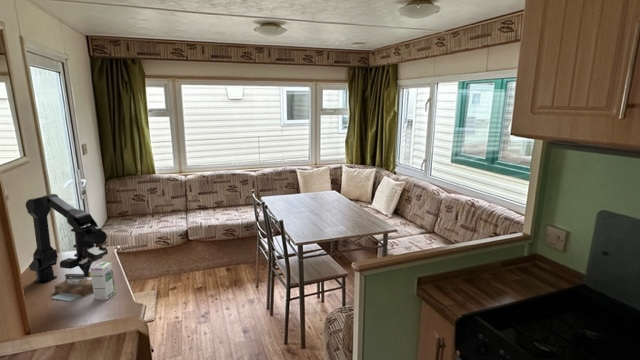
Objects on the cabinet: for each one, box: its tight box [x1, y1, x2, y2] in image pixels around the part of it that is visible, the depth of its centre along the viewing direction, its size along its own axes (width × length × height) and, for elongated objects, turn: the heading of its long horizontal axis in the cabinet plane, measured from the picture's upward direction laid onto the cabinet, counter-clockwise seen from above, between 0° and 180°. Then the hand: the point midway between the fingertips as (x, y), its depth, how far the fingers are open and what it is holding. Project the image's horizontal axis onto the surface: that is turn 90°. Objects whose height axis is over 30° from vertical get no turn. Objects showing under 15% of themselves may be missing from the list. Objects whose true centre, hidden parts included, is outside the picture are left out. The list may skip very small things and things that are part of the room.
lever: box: [64, 270, 91, 282], centre depth 154 cm, size 12×2×5 cm, turn 89°
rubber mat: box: [51, 292, 82, 303], centre depth 147 cm, size 10×5×1 cm, turn 77°
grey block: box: [67, 277, 88, 287], centre depth 153 cm, size 6×4×2 cm
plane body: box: [53, 279, 94, 297], centre depth 154 cm, size 16×8×3 cm, turn 77°
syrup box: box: [89, 261, 116, 301], centre depth 147 cm, size 6×6×14 cm
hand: (86, 276), depth 152 cm, fingers closed, pressing on lever
